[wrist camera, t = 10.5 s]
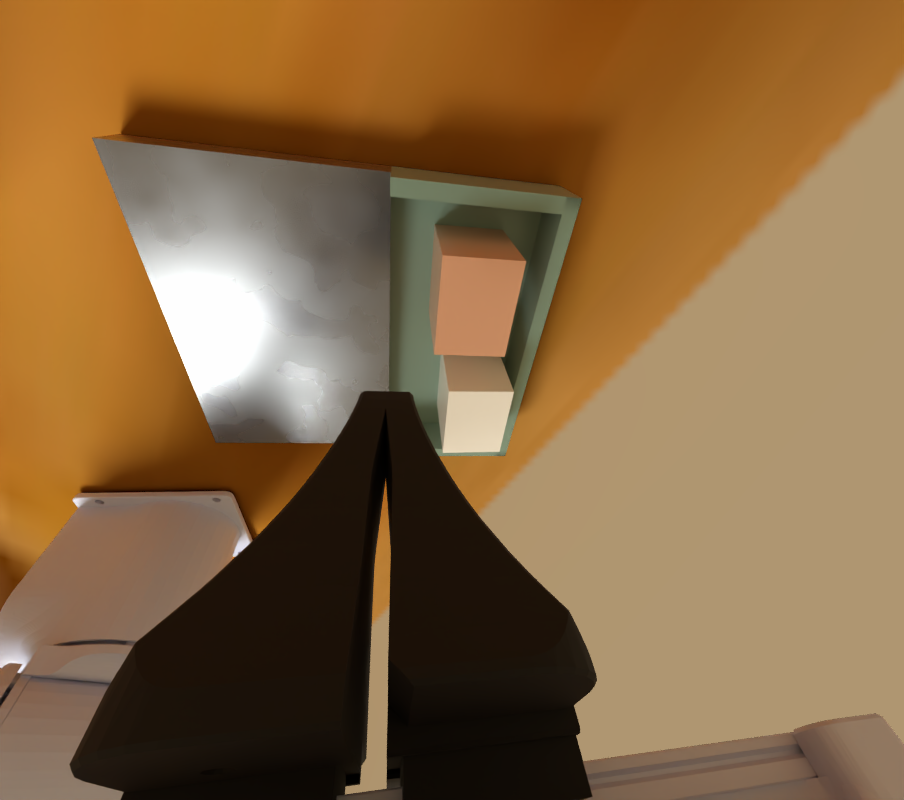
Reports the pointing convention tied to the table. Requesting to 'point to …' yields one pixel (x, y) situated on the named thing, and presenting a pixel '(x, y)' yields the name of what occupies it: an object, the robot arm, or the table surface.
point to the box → (412, 233)
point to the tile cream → (473, 403)
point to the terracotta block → (473, 290)
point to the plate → (264, 278)
